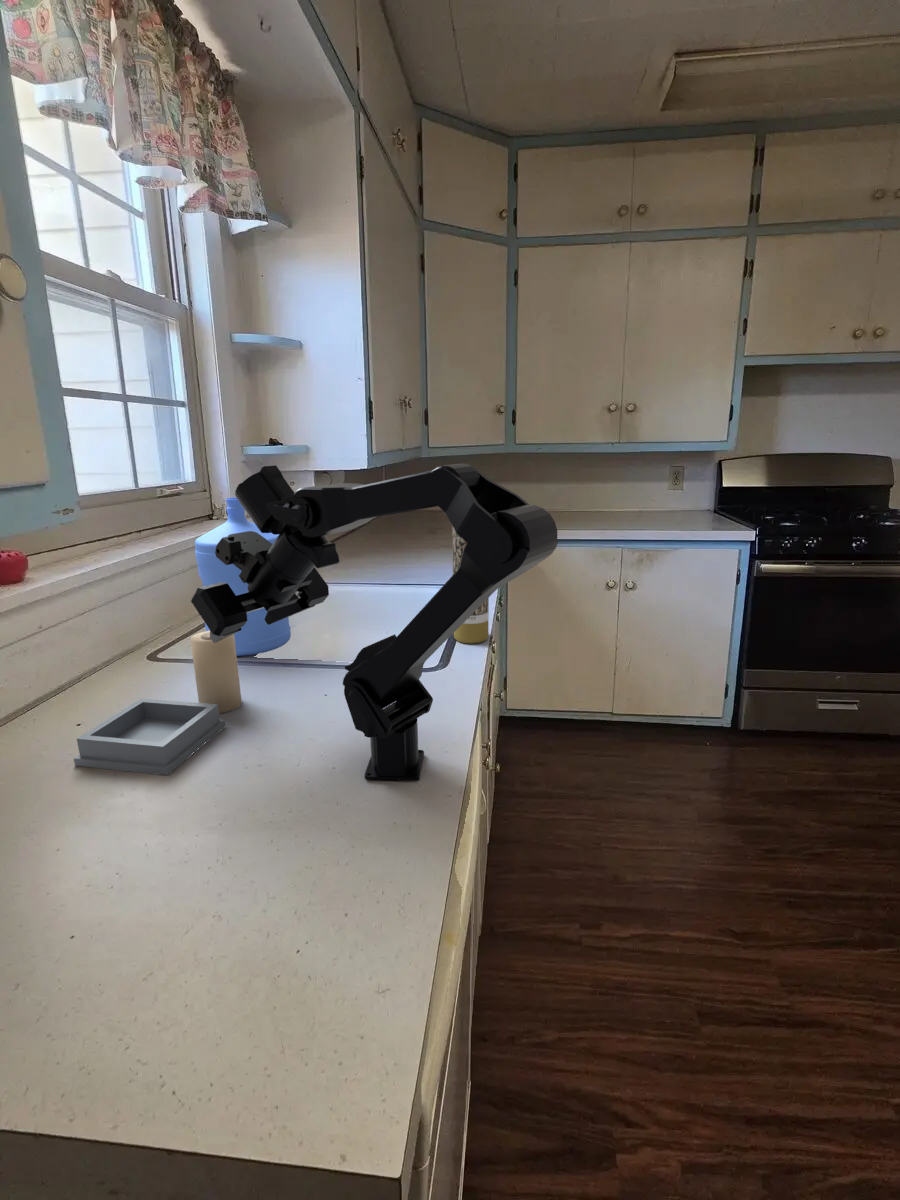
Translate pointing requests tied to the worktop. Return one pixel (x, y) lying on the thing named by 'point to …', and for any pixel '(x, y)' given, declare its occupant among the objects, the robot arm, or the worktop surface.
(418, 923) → the worktop surface
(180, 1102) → the worktop surface
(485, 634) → the paper tube
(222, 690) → the beige knobbed cylinder
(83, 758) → the grey rimmed tray
